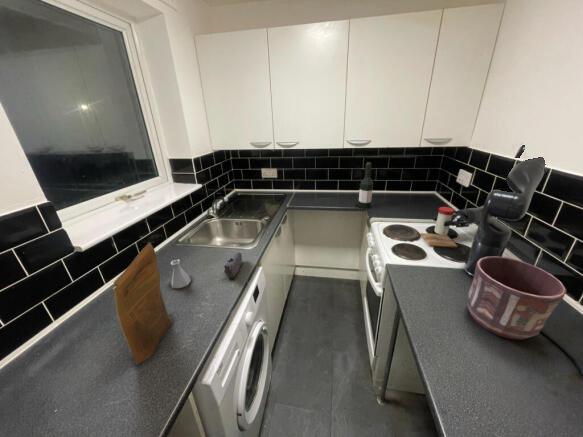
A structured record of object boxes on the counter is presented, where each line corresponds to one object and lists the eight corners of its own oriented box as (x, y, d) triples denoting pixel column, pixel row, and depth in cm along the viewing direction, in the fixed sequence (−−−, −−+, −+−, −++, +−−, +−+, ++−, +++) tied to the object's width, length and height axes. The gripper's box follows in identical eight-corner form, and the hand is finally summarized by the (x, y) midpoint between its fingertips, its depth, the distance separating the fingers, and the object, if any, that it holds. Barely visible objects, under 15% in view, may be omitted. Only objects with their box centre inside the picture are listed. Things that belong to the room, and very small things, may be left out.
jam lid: (455, 215, 104) (456, 211, 103) (441, 215, 105) (442, 211, 104) (449, 210, 109) (450, 206, 109) (436, 210, 110) (436, 206, 110)
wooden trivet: (457, 247, 107) (458, 246, 107) (429, 246, 109) (430, 245, 109) (446, 235, 118) (446, 234, 117) (421, 234, 120) (421, 233, 119)
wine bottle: (369, 204, 162) (373, 161, 150) (371, 208, 155) (377, 164, 142) (357, 204, 163) (360, 161, 151) (359, 208, 155) (363, 164, 143)
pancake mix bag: (183, 312, 77) (161, 240, 65) (150, 370, 59) (111, 285, 48) (163, 313, 77) (138, 240, 66) (124, 370, 60) (80, 285, 48)
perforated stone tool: (235, 259, 105) (233, 246, 102) (246, 260, 104) (245, 247, 101) (222, 281, 91) (219, 266, 88) (234, 282, 90) (232, 267, 87)
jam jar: (449, 234, 109) (455, 212, 104) (437, 234, 109) (442, 212, 105) (444, 229, 114) (450, 207, 109) (432, 229, 114) (437, 207, 110)
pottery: (454, 323, 69) (470, 274, 62) (467, 293, 80) (482, 249, 73) (536, 363, 58) (569, 309, 50) (538, 321, 69) (565, 272, 61)
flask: (169, 290, 87) (162, 269, 83) (173, 279, 94) (166, 258, 89) (189, 286, 89) (183, 265, 85) (192, 275, 95) (186, 255, 91)
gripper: (457, 204, 117) (429, 208, 113) (485, 214, 104) (454, 220, 101) (453, 217, 120) (426, 222, 116) (480, 229, 107) (450, 235, 104)
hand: (439, 221), depth 109 cm, fingers closed on jam jar, 5 cm apart
